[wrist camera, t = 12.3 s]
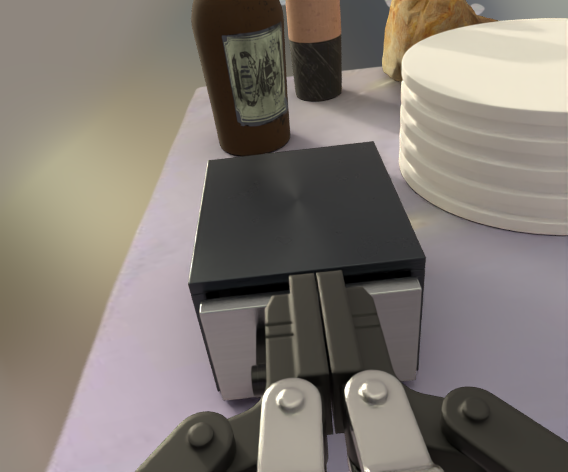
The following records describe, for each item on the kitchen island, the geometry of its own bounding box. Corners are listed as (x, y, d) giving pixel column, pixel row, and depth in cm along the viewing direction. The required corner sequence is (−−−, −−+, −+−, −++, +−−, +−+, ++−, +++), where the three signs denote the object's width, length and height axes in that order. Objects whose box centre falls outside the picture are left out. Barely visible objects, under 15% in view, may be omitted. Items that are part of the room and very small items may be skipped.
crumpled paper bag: (520, 113, 68) (551, -11, 60) (394, 113, 69) (407, -9, 61) (475, 64, 88) (493, -34, 79) (377, 65, 89) (385, -33, 80)
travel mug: (347, 98, 77) (341, -53, 66) (296, 104, 77) (282, -46, 66) (339, 81, 83) (333, -60, 72) (292, 87, 84) (279, -53, 72)
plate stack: (640, 276, 40) (693, 141, 34) (349, 181, 57) (346, 79, 50) (712, 140, 56) (757, 30, 49) (468, 97, 73) (477, 11, 66)
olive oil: (204, 138, 70) (160, -73, 56) (272, 117, 74) (247, -86, 60) (234, 167, 63) (192, -70, 48) (310, 142, 66) (291, -86, 52)
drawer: (435, 440, 30) (445, 346, 25) (219, 463, 30) (191, 373, 25) (373, 247, 45) (372, 167, 41) (231, 263, 45) (214, 185, 41)
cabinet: (418, 370, 35) (426, 257, 29) (217, 392, 35) (187, 283, 30) (374, 237, 48) (373, 140, 42) (227, 253, 48) (207, 160, 43)
